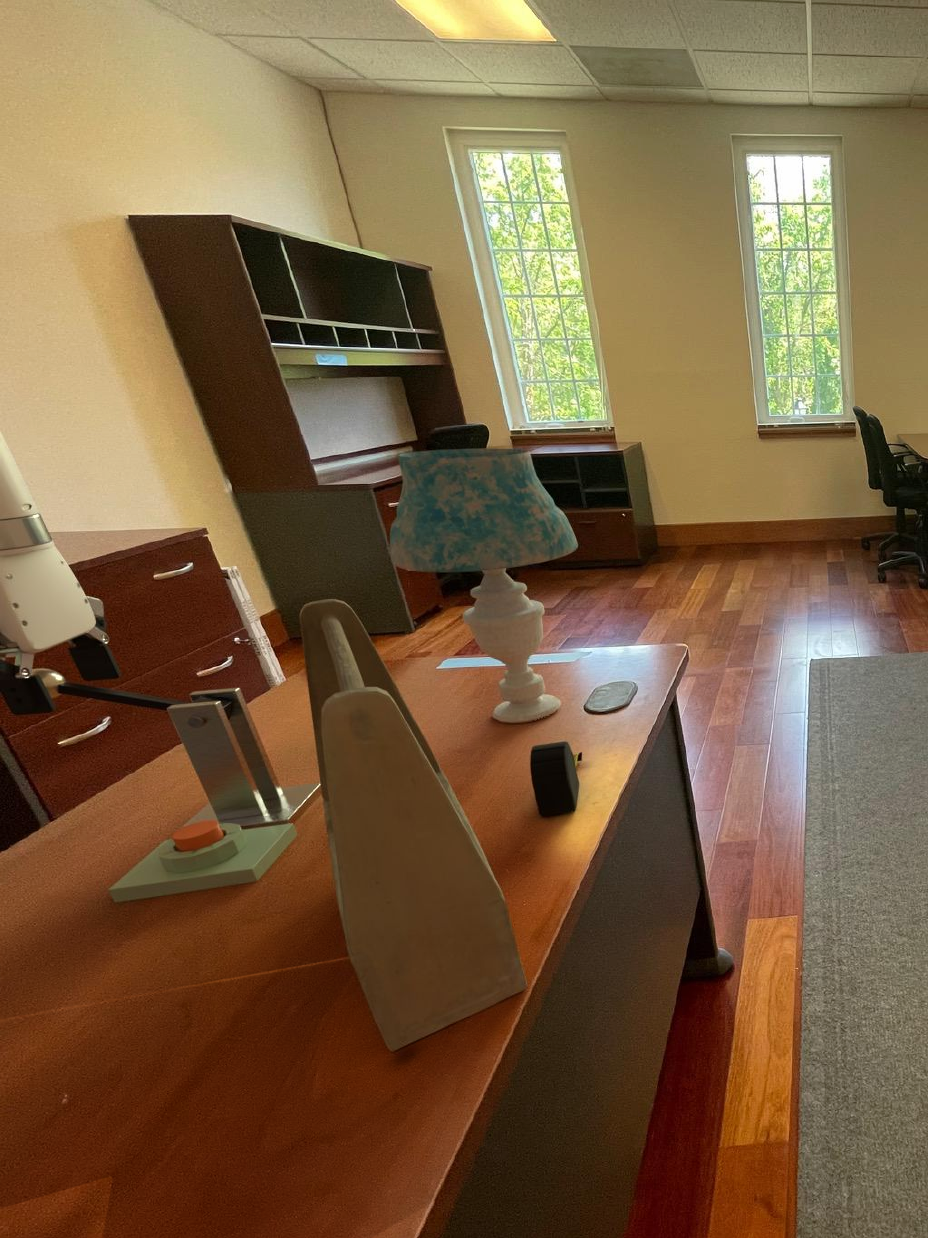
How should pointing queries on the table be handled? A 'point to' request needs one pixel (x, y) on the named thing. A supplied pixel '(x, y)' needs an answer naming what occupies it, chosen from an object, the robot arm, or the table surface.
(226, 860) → the button box
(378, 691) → the caddy
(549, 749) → the tape measure
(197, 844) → the button
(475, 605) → the table lamp
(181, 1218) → the table surface
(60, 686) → the lever
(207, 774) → the bracket
